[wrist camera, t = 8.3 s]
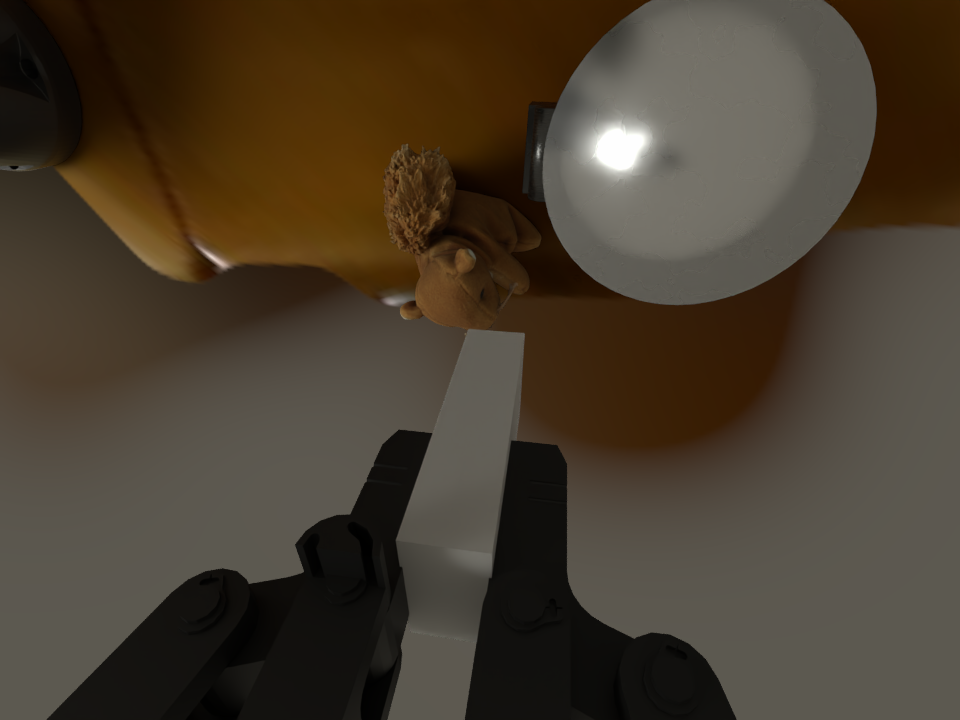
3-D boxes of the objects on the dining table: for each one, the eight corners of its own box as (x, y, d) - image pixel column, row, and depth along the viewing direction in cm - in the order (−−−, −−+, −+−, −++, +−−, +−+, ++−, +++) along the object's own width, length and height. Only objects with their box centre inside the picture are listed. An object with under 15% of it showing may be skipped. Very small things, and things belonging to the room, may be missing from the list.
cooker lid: (522, 278, 30) (519, 287, 28) (547, -22, 22) (543, -26, 20) (789, 308, 27) (797, 320, 26) (931, -19, 19) (951, -23, 18)
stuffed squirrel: (470, 313, 45) (435, 396, 34) (364, 192, 41) (285, 245, 30) (557, 253, 41) (548, 328, 30) (448, 109, 36) (391, 135, 25)
